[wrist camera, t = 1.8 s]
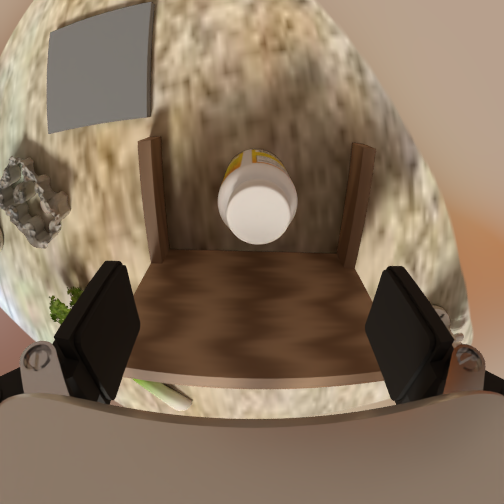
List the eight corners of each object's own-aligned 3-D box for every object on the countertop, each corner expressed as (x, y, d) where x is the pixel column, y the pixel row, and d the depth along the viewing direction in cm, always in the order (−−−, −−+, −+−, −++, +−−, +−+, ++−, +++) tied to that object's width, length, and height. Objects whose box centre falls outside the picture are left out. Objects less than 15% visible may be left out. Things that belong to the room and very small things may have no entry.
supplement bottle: (232, 208, 28) (223, 262, 19) (220, 153, 25) (202, 181, 16) (289, 199, 27) (307, 249, 18) (280, 143, 25) (297, 165, 16)
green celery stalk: (170, 395, 48) (49, 286, 33) (200, 385, 47) (77, 265, 32) (170, 422, 42) (33, 314, 27) (202, 413, 42) (61, 293, 27)
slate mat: (154, 4, 18) (151, 1, 17) (150, 116, 23) (146, 117, 22) (55, 33, 17) (50, 32, 16) (53, 132, 23) (48, 134, 22)
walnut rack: (363, 144, 25) (472, 198, 11) (344, 263, 31) (397, 378, 17) (149, 137, 24) (42, 184, 10) (160, 258, 31) (106, 373, 17)
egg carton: (79, 203, 28) (60, 217, 24) (54, 243, 30) (38, 259, 26) (27, 145, 24) (5, 154, 20) (7, 189, 26) (-12, 201, 23)
